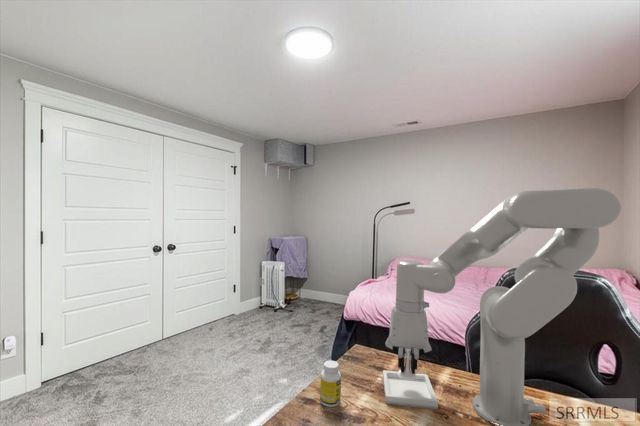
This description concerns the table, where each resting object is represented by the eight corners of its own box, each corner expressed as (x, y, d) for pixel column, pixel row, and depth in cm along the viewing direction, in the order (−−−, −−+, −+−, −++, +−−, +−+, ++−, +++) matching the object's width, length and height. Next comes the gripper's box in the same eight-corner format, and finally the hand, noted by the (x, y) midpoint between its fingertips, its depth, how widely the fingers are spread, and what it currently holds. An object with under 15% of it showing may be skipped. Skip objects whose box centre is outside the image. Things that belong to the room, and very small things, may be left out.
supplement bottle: (339, 409, 75) (339, 370, 75) (318, 406, 76) (318, 367, 76) (341, 396, 80) (342, 360, 80) (322, 393, 82) (322, 357, 82)
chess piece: (418, 374, 84) (419, 339, 84) (413, 383, 80) (414, 346, 80) (400, 369, 87) (402, 335, 87) (395, 377, 82) (396, 341, 82)
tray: (427, 381, 89) (427, 374, 89) (437, 409, 76) (437, 401, 76) (382, 376, 91) (382, 370, 91) (385, 403, 78) (386, 396, 78)
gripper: (436, 303, 86) (433, 367, 86) (379, 299, 88) (377, 361, 88) (442, 312, 78) (440, 381, 78) (381, 307, 81) (378, 374, 81)
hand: (407, 370), depth 83 cm, fingers closed on chess piece
